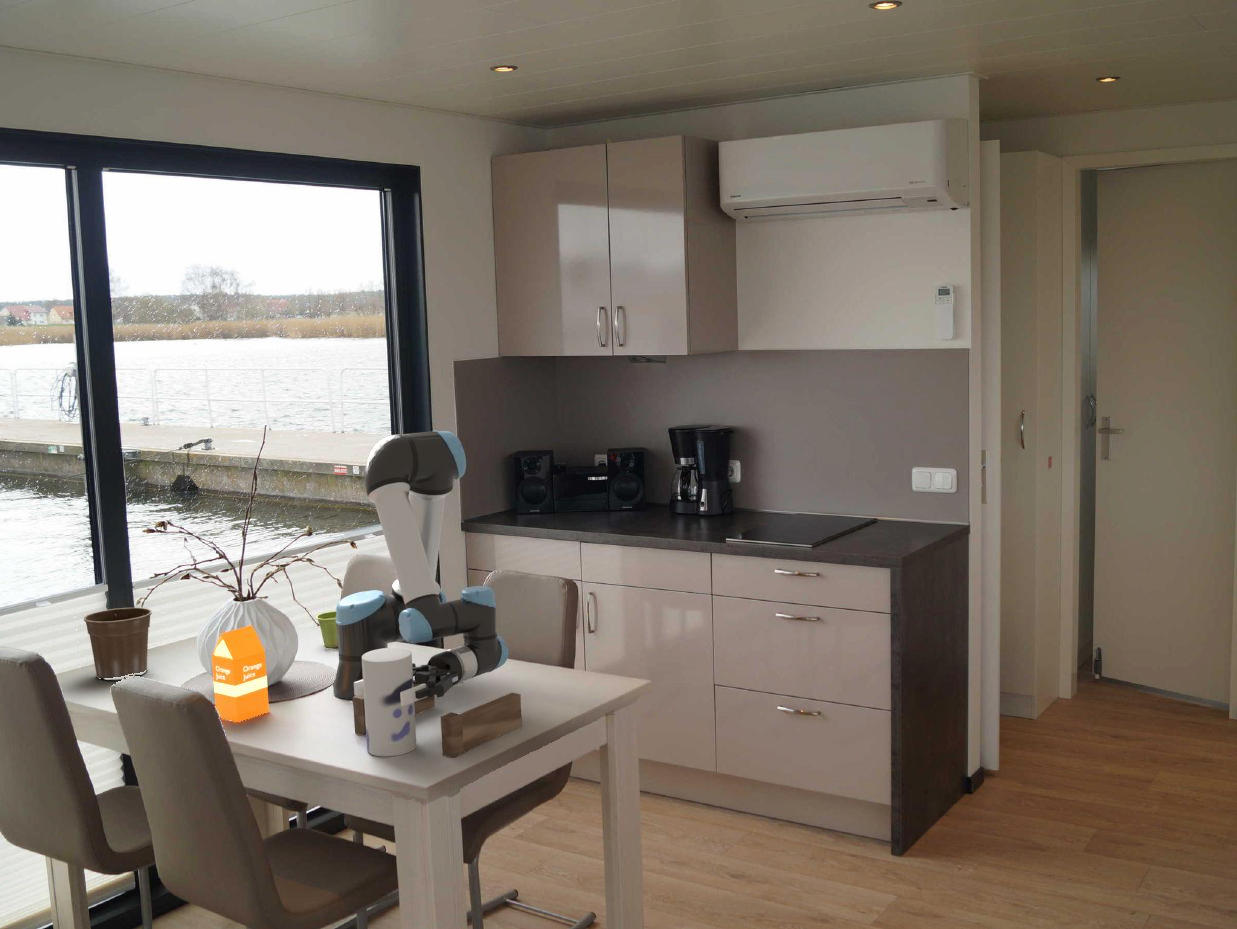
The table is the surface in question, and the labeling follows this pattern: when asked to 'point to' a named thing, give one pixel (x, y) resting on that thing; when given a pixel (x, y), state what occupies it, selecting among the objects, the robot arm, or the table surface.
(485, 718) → the channel
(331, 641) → the plant pot
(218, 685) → the orange juice
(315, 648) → the table surface
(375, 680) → the container
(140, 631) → the plant pot
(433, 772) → the table surface
